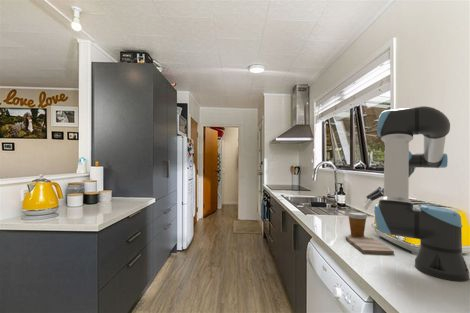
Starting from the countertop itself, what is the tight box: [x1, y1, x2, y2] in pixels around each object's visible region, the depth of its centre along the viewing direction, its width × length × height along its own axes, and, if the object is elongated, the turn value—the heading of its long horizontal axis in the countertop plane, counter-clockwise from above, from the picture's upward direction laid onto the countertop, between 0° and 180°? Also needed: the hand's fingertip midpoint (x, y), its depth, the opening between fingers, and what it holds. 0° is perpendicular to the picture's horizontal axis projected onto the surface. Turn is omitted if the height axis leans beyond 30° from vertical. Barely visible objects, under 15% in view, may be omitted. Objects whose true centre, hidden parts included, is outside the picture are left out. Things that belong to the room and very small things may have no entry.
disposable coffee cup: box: [347, 211, 368, 237], centre depth 131 cm, size 10×10×12 cm
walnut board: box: [345, 236, 395, 255], centre depth 113 cm, size 19×13×2 cm
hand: (374, 210), depth 132 cm, fingers open, 13 cm apart
